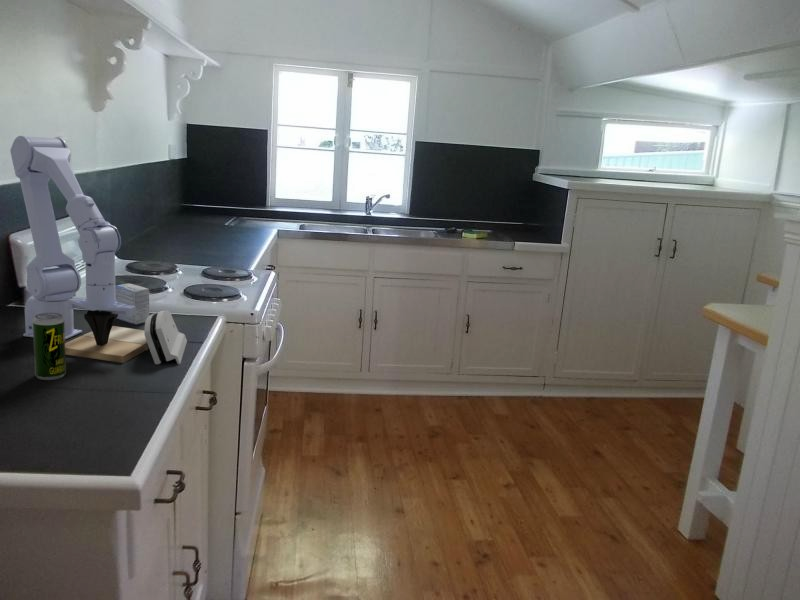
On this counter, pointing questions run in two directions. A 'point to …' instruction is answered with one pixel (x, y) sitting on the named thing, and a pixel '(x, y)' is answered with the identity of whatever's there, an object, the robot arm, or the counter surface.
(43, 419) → the counter surface
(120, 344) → the plank
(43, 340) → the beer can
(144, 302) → the grey wood grain block
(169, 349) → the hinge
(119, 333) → the floor board
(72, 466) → the counter surface
